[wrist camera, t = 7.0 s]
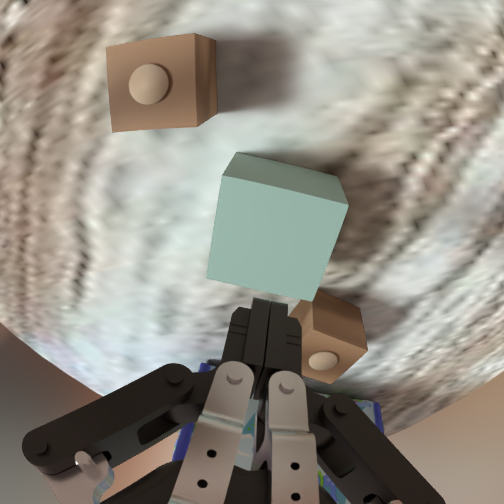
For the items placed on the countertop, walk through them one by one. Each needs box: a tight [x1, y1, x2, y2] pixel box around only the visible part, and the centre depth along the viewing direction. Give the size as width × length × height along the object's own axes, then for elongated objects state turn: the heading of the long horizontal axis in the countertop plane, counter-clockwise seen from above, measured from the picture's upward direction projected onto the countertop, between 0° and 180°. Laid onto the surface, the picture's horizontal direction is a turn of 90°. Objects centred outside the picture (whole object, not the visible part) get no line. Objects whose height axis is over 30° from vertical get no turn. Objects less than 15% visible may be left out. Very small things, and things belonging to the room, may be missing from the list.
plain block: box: [206, 152, 349, 301], centre depth 21 cm, size 7×7×5 cm
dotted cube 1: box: [288, 289, 368, 384], centre depth 26 cm, size 5×5×5 cm
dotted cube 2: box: [106, 33, 217, 133], centre depth 17 cm, size 5×5×5 cm
